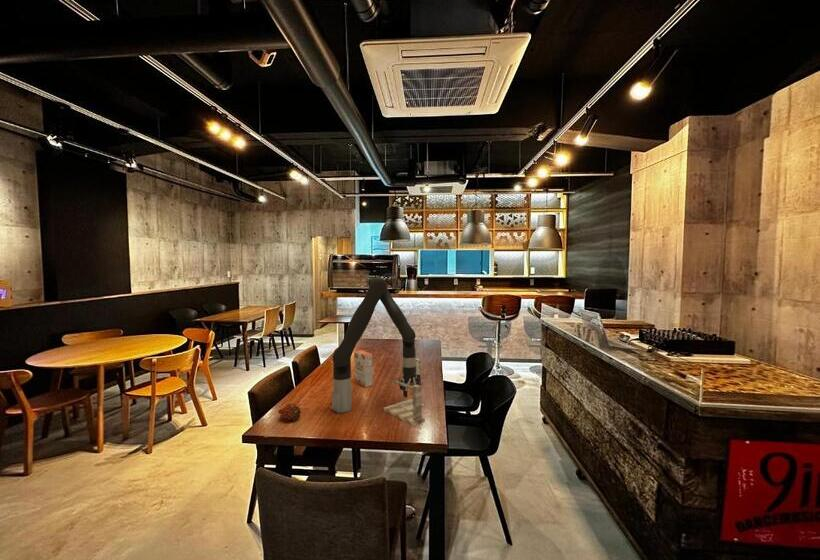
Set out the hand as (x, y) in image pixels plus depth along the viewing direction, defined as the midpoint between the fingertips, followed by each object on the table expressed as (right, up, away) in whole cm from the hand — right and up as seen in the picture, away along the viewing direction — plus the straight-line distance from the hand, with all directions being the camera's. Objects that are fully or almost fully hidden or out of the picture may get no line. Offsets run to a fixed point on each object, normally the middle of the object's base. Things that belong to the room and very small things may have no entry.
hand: (409, 395), depth 188 cm
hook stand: (-3, -6, -13) cm, 15 cm away
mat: (0, -5, 0) cm, 5 cm away
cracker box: (-30, -5, +35) cm, 46 cm away
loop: (0, -1, 0) cm, 1 cm away
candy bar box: (+1, -4, +33) cm, 33 cm away
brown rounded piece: (-60, -7, -16) cm, 63 cm away
